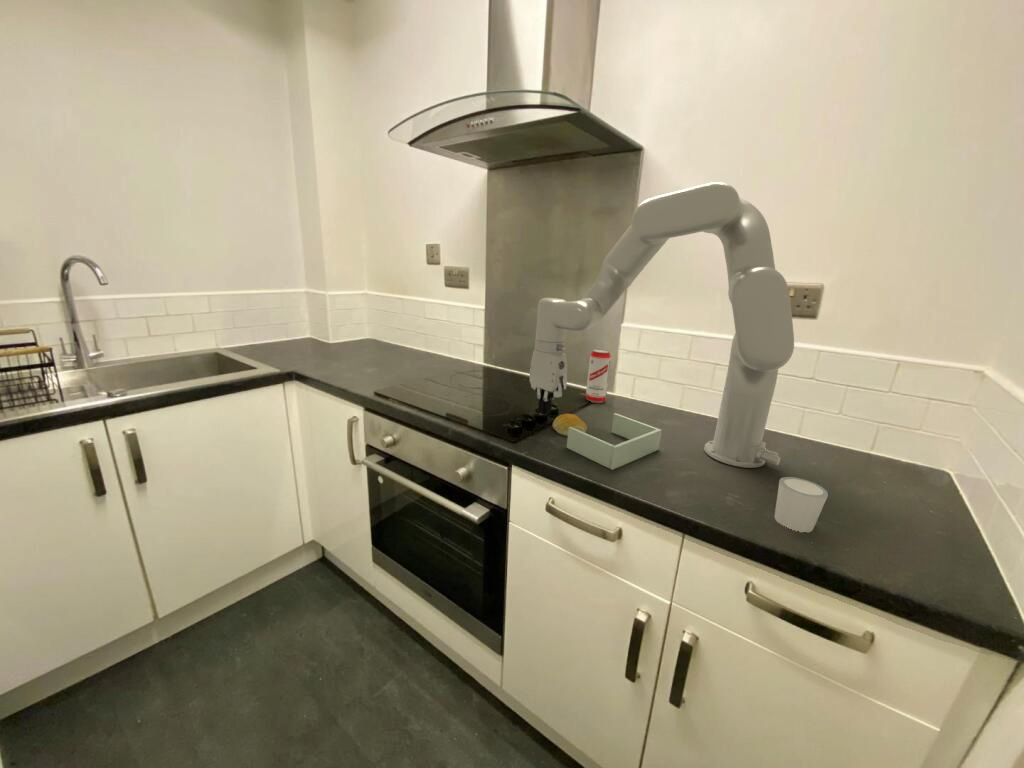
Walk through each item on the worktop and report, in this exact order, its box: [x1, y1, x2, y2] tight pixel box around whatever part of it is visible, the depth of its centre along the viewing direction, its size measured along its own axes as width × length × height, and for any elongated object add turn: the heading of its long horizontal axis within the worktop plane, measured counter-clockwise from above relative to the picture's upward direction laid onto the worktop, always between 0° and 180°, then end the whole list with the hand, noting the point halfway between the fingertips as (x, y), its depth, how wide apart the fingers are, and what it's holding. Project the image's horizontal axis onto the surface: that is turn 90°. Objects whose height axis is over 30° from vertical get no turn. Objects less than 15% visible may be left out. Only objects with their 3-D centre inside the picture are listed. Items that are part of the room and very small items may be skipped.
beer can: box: [585, 348, 612, 404], centre depth 129 cm, size 6×6×16 cm
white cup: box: [774, 476, 829, 533], centre depth 71 cm, size 7×7×7 cm
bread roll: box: [552, 413, 588, 437], centre depth 106 cm, size 8×9×4 cm
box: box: [566, 412, 662, 471], centre depth 96 cm, size 13×18×5 cm
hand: (544, 413), depth 113 cm, fingers closed
